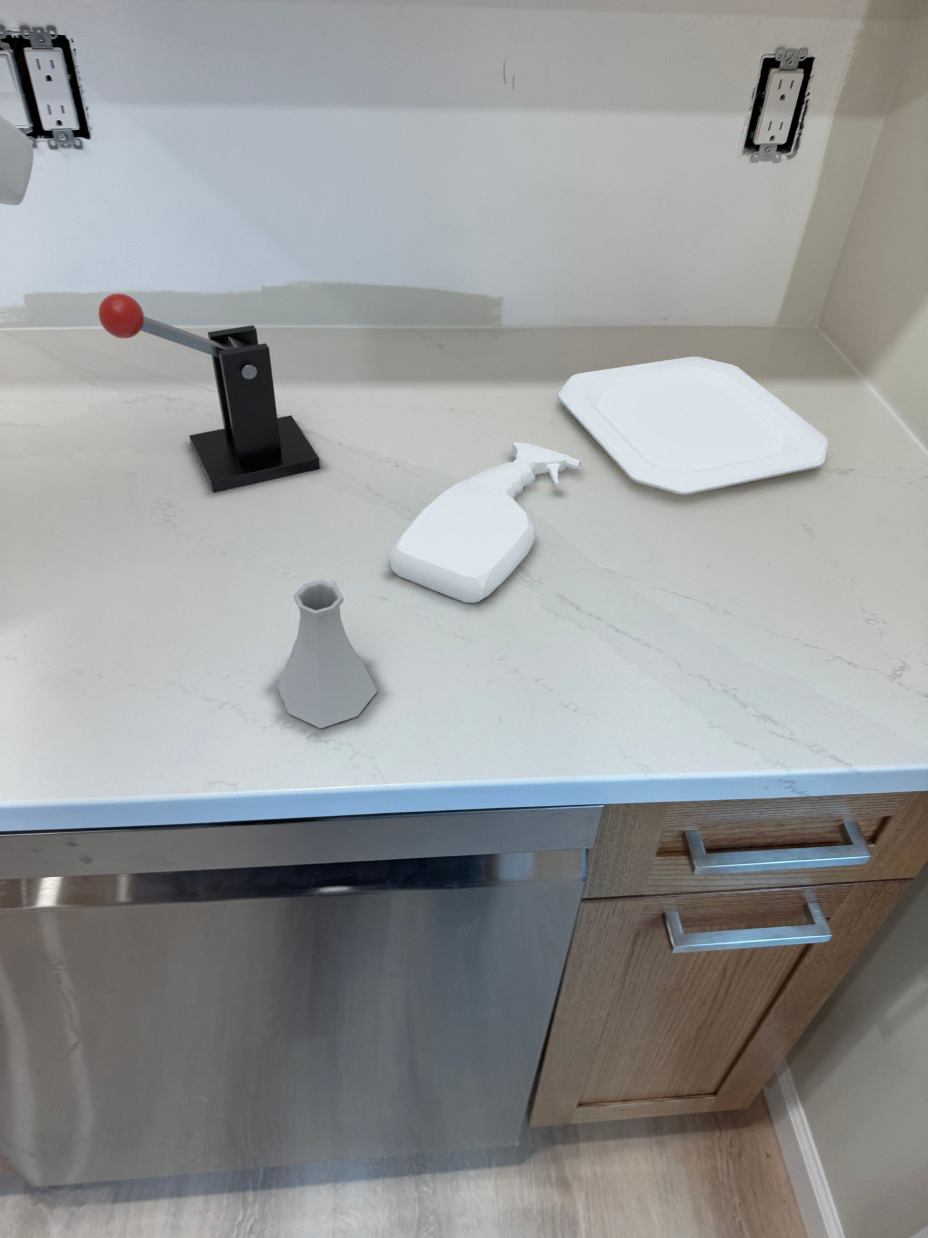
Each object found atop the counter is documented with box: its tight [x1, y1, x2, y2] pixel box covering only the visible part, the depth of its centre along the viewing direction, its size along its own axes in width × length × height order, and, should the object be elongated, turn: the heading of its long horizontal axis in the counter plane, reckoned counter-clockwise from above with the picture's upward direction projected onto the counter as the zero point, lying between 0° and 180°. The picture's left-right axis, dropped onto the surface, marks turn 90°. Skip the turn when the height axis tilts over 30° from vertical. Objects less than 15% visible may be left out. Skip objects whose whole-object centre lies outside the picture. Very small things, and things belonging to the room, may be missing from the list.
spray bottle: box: [388, 441, 582, 604], centre depth 79 cm, size 3×11×24 cm
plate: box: [557, 355, 829, 496], centre depth 92 cm, size 25×25×2 cm
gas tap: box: [188, 324, 321, 493], centre depth 81 cm, size 11×9×13 cm
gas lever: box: [98, 292, 252, 360], centre depth 74 cm, size 14×4×4 cm, turn 116°
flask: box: [276, 579, 378, 729], centre depth 60 cm, size 7×7×10 cm
